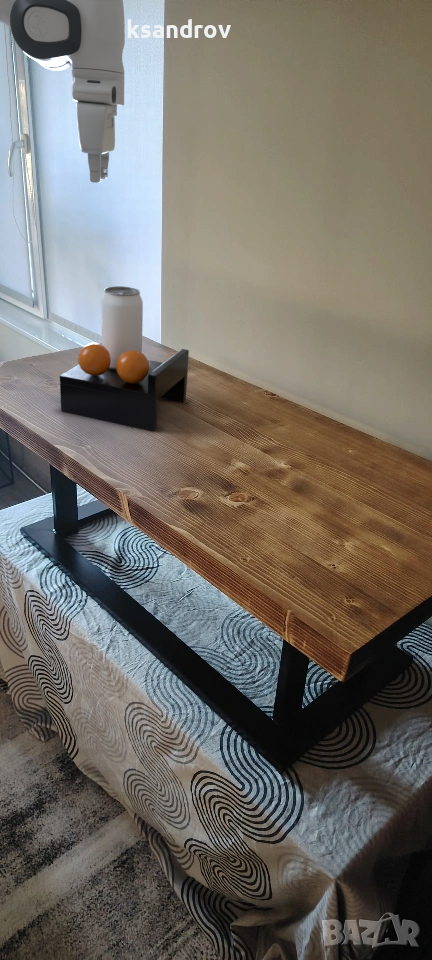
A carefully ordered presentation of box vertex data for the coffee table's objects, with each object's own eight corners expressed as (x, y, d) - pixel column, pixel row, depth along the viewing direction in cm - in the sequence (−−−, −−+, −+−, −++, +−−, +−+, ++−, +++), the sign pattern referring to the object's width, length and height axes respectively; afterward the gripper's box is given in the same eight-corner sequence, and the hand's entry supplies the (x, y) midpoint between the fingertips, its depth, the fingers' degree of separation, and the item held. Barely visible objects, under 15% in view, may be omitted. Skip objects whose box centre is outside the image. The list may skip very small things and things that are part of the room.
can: (149, 364, 104) (151, 291, 98) (123, 374, 99) (124, 297, 93) (120, 355, 107) (120, 283, 101) (93, 364, 102) (92, 289, 96)
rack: (61, 411, 100) (57, 344, 94) (102, 383, 111) (101, 322, 106) (153, 431, 96) (156, 362, 90) (185, 400, 107) (189, 338, 102)
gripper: (88, 92, 116) (90, 174, 123) (69, 86, 99) (72, 183, 105) (122, 95, 117) (122, 177, 124) (110, 90, 99) (110, 186, 106)
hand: (99, 180), depth 114 cm, fingers open, 8 cm apart
